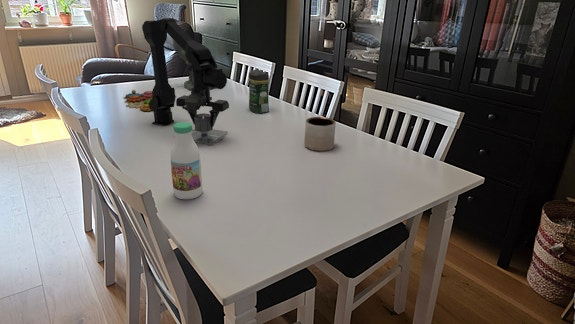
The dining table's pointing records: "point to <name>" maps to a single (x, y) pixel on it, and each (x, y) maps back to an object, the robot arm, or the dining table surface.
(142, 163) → the dining table surface
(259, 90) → the coffee jar
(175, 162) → the milk bottle
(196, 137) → the mounting plate
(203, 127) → the knob
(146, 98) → the gear puzzle
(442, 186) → the dining table surface
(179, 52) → the stuffed elephant
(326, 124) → the planter
